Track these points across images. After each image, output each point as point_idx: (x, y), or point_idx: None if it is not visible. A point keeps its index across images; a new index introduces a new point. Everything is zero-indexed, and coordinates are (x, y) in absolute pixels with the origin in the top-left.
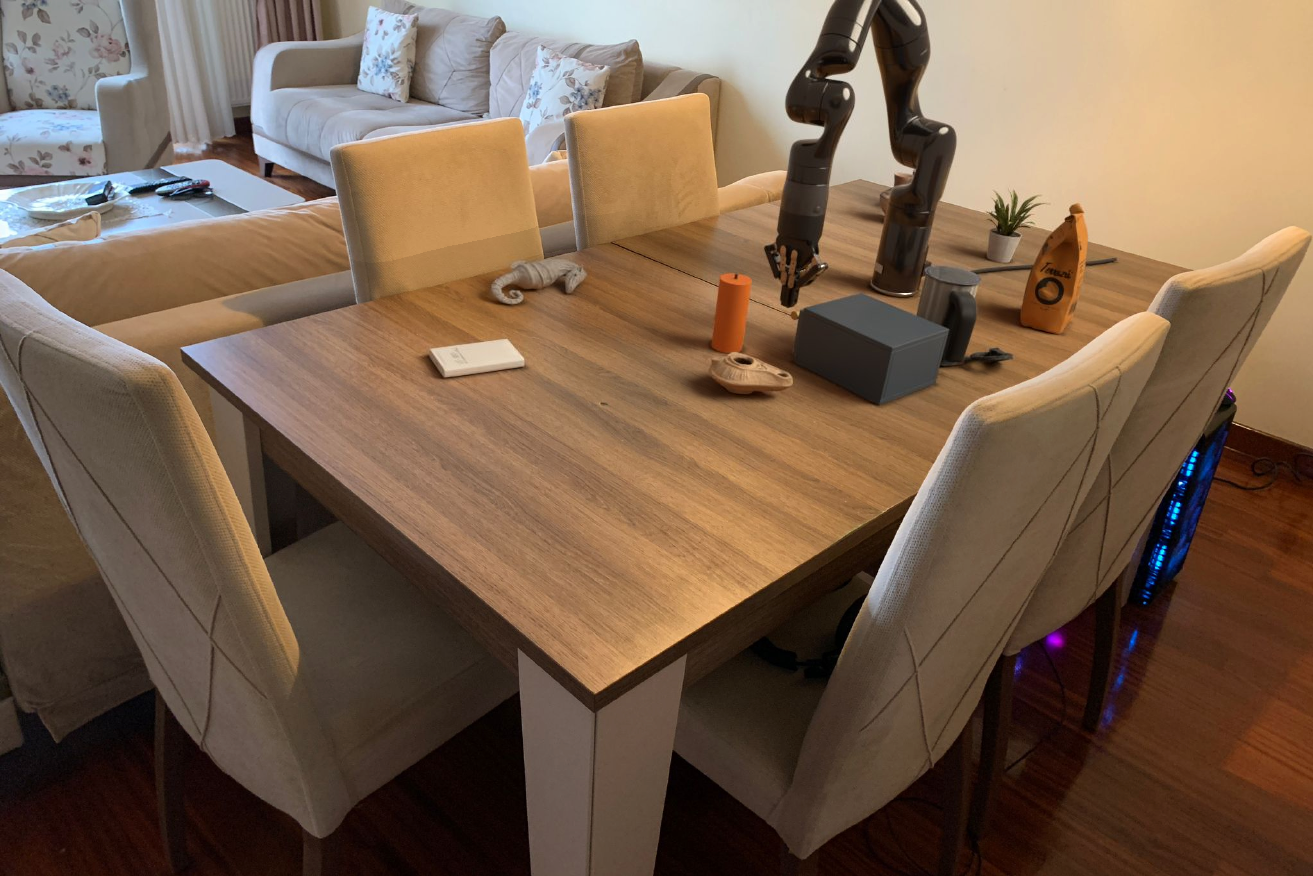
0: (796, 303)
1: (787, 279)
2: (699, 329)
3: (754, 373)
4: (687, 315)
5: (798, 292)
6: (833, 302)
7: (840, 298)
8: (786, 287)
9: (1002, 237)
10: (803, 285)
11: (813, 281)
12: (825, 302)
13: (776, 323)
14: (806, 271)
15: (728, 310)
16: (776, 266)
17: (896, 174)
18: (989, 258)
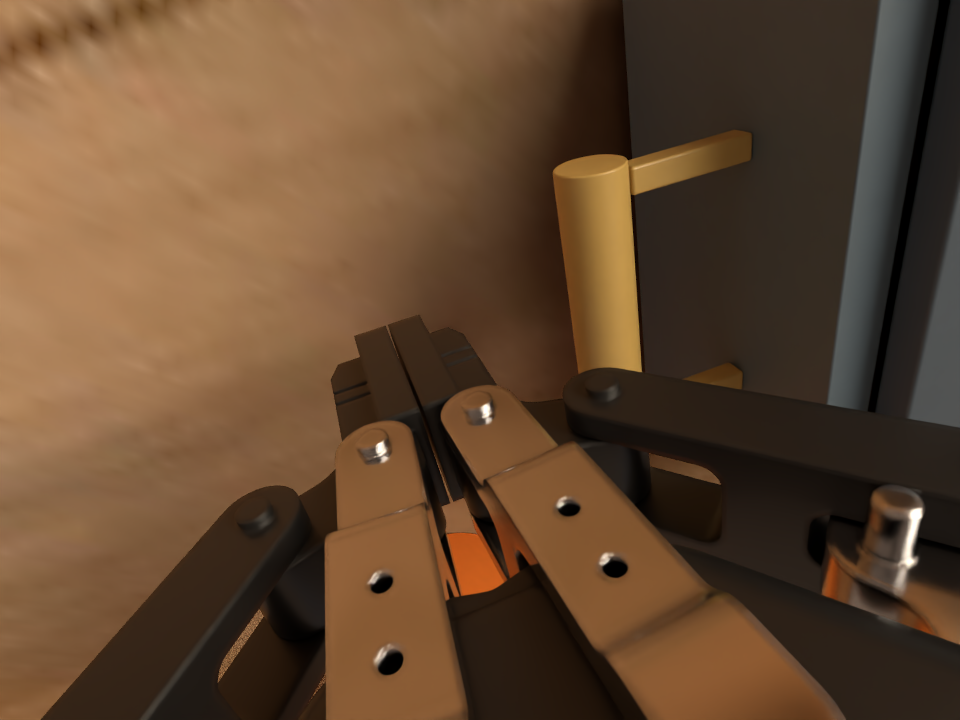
0: (452, 330)
1: (446, 543)
2: (241, 642)
3: None
4: (41, 667)
5: (491, 380)
6: (952, 349)
7: (950, 235)
8: (446, 497)
9: None
10: (655, 474)
11: (684, 382)
12: (914, 409)
13: (205, 248)
14: (579, 452)
15: None
16: (294, 705)
17: None
18: None
